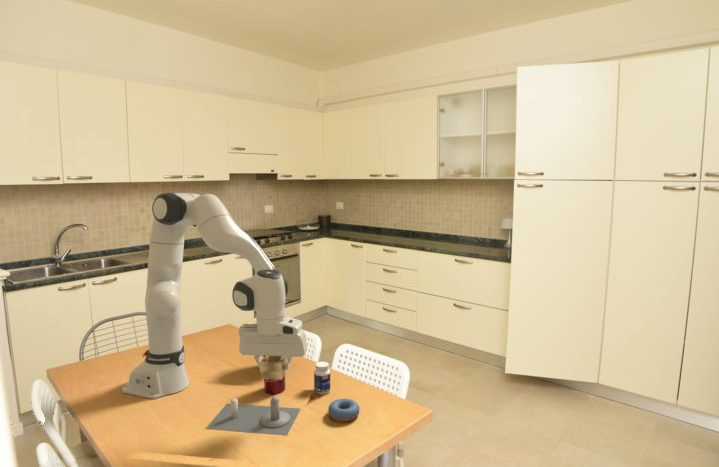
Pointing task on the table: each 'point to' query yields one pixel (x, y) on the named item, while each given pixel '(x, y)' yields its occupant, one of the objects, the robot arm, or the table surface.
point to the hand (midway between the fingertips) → (274, 368)
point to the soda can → (274, 386)
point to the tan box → (273, 367)
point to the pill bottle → (322, 378)
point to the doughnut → (343, 410)
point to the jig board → (255, 418)
